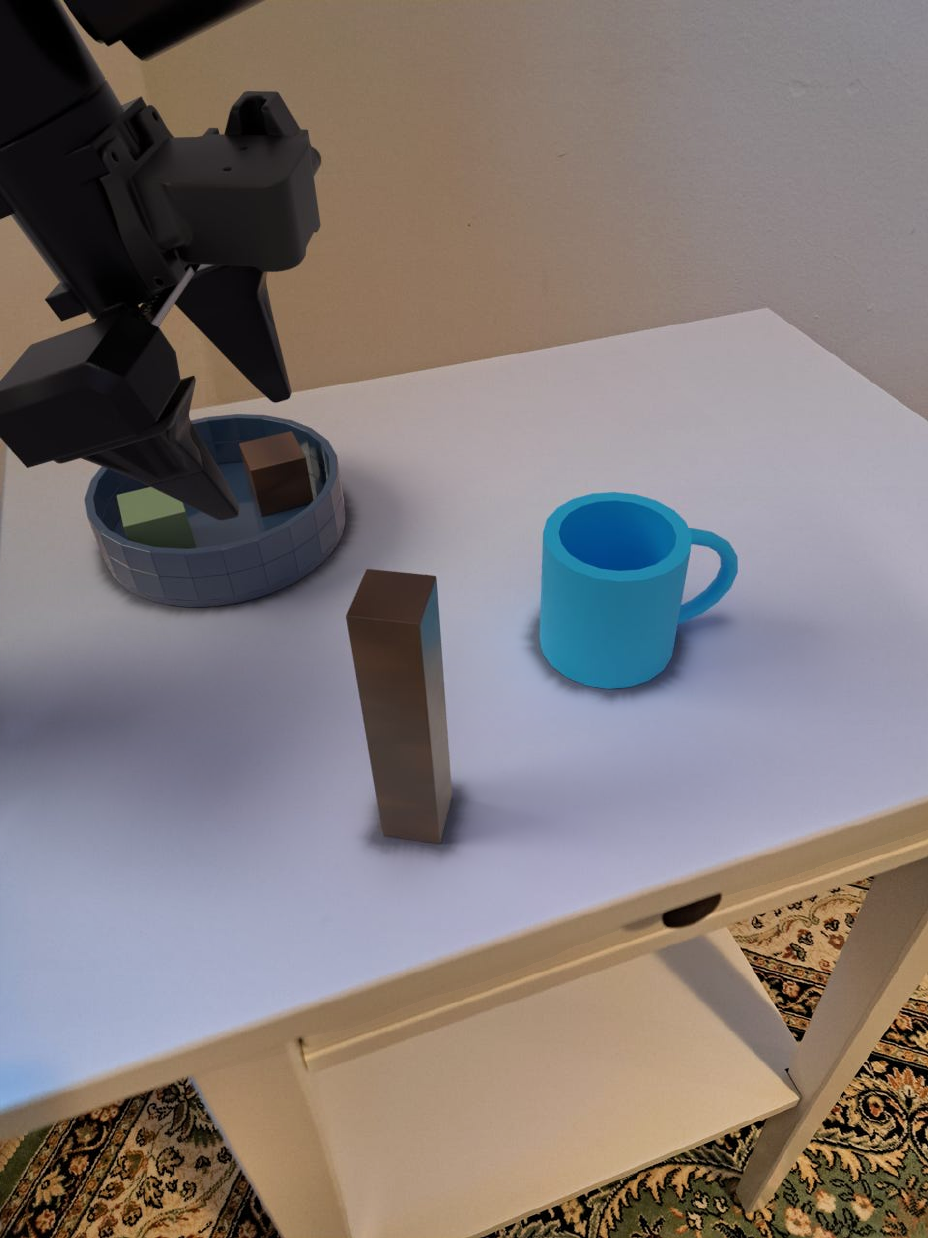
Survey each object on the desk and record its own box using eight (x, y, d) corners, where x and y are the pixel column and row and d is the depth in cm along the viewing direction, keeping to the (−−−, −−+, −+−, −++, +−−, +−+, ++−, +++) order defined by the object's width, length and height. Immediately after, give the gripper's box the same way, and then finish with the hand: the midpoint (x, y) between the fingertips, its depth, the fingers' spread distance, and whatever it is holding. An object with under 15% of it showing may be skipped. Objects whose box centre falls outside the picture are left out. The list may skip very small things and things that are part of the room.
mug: (563, 700, 51) (569, 593, 45) (523, 609, 57) (525, 504, 51) (755, 661, 53) (784, 554, 47) (697, 577, 58) (717, 472, 53)
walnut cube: (261, 517, 64) (250, 470, 62) (249, 488, 67) (238, 442, 64) (314, 503, 65) (306, 456, 63) (300, 476, 68) (291, 430, 65)
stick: (382, 835, 45) (345, 616, 34) (397, 787, 47) (366, 568, 37) (440, 844, 44) (419, 624, 34) (452, 795, 46) (436, 575, 36)
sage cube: (140, 574, 60) (123, 526, 57) (133, 541, 63) (116, 494, 60) (199, 558, 61) (185, 511, 58) (189, 527, 64) (175, 480, 61)
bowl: (120, 637, 56) (98, 583, 53) (94, 496, 68) (74, 446, 65) (376, 564, 61) (369, 510, 58) (310, 444, 72) (301, 395, 69)
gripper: (116, 134, 23) (372, 555, 33) (291, -36, 36) (438, 308, 46) (-173, 263, 27) (137, 605, 37) (77, 68, 39) (257, 365, 50)
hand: (259, 453), depth 42 cm, fingers open, 9 cm apart
